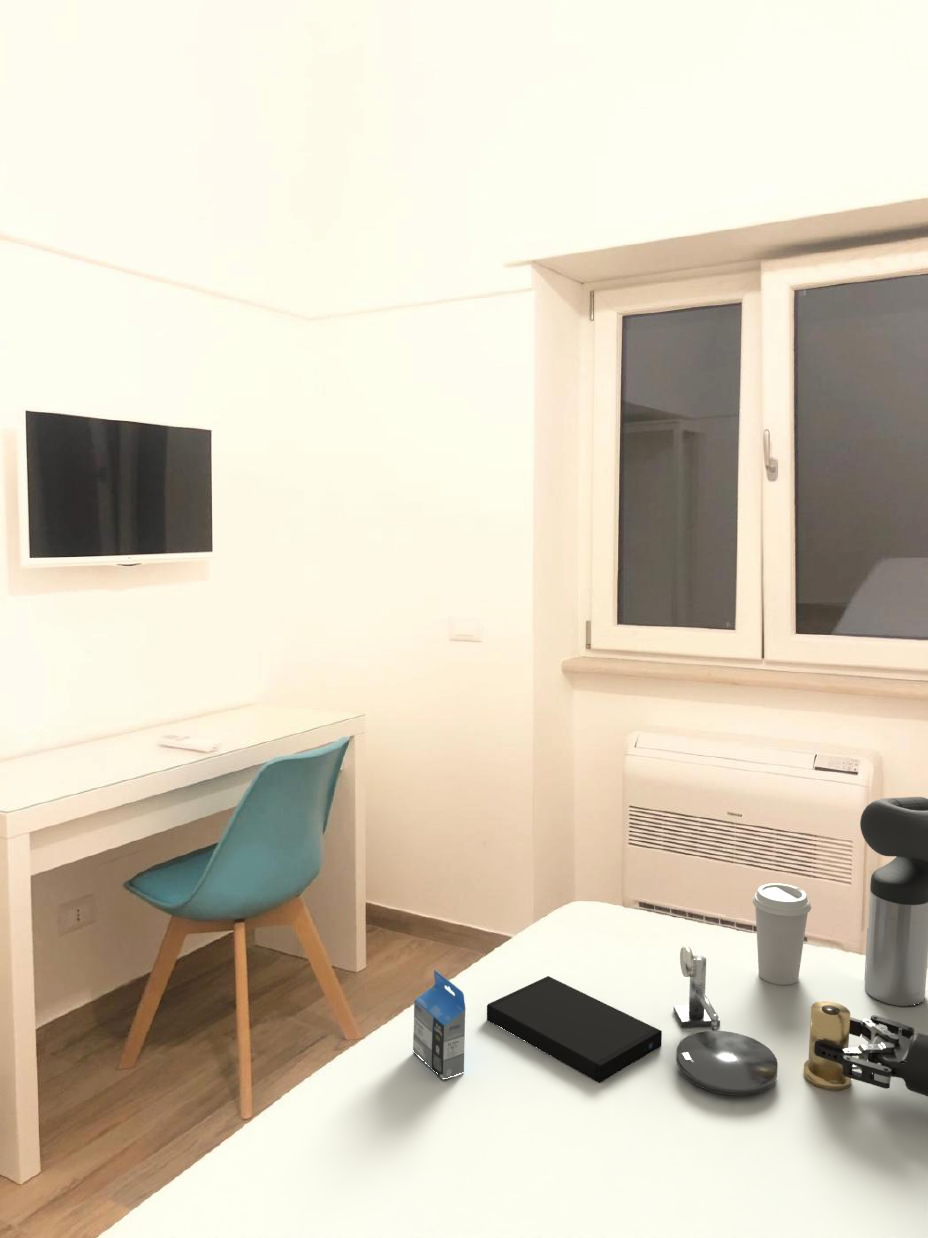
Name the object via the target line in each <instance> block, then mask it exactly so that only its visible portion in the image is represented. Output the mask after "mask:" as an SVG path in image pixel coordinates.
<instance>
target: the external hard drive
mask: <svg viewBox="0 0 928 1238" xmlns="http://www.w3.org/2000/svg"><path fill="white" fill-rule="evenodd" d="M487 1020H488V1021H487ZM486 1021H487V1022H489V1021H490V1023H491V1022H492V1023H491V1024H493V1023H494V1024H493V1025H495V1026H496V1025H498V1026H500V1027H502V1028H503V1029H505V1030H506V1031H505V1030H504V1031H505V1032H507V1031H508V1032H507V1033H509V1032H510V1033H509V1034H511V1033H512V1034H514V1035H515V1037H516V1036H517V1037H516V1038H518V1037H519V1038H520V1040H521V1039H522V1041H523V1040H525V1041H526V1042H525V1041H524V1042H525V1043H527V1042H528V1043H529V1044H528V1043H527V1044H528V1045H530V1044H531V1045H530V1046H532V1047H533V1048H535V1047H537V1048H538V1049H537V1048H536V1049H537V1050H539V1049H540V1050H539V1051H541V1052H543V1053H544V1052H545V1054H546V1055H548V1056H550V1055H551V1056H552V1058H554V1059H555V1060H557V1061H558V1062H560V1063H562V1064H564V1065H566V1066H568V1067H569V1068H571V1069H572V1070H575V1071H576V1070H577V1071H576V1072H578V1073H580V1074H582V1075H583V1076H585V1077H587V1078H589V1079H591V1080H592V1081H594V1082H596V1083H598V1084H601V1083H603V1082H604V1081H606V1080H608V1079H610V1078H612V1077H613V1076H614V1075H616V1074H618V1073H620V1072H622V1071H623V1070H625V1069H626V1068H628V1067H630V1066H631V1065H633V1064H635V1063H637V1062H638V1061H640V1060H641V1059H642V1058H645V1057H646V1056H648V1055H650V1054H651V1053H653V1052H654V1051H657V1050H658V1049H660V1048H661V1047H662V1043H663V1042H662V1039H663V1037H662V1035H663V1031H662V1030H660V1029H658V1028H657V1027H655V1026H653V1025H650V1024H648V1023H646V1022H644V1021H642V1020H640V1019H638V1018H636V1017H634V1016H632V1015H630V1014H628V1013H625V1012H623V1011H621V1010H619V1009H618V1008H615V1007H613V1006H611V1005H608V1003H607V1004H606V1003H605V1002H602V1001H600V1000H599V999H598V998H594V997H592V996H590V995H588V994H587V993H584V992H582V991H580V990H578V989H576V988H575V987H572V986H570V985H568V984H565V983H563V982H561V981H559V980H557V979H555V978H553V977H551V976H548V975H547V976H545V977H543V978H541V979H539V980H537V981H535V982H533V983H531V984H530V983H529V984H528V985H526V986H524V987H521V988H520V989H517V990H515V991H513V992H511V993H509V994H506V995H505V996H502V997H501V998H498V999H496V1000H494V1001H492V1002H489V1003H488V1004H487V1005H486ZM498 1026H497V1027H498ZM500 1027H499V1028H500ZM502 1028H501V1029H502ZM503 1029H502V1030H503ZM512 1034H511V1035H512ZM514 1035H513V1036H514ZM519 1038H518V1039H519ZM551 1056H550V1057H551Z"/></svg>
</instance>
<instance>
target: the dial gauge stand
mask: <svg viewBox="0 0 928 1238" xmlns="http://www.w3.org/2000/svg"><path fill="white" fill-rule="evenodd" d="M679 963H680V969H681V973H682V976H683V977H684V978H689V989H688V991H689V998H688V1004H673V1013H674V1015H675V1018H676V1019H677V1021H678V1023H679V1025H680V1027H681V1028H682V1029H683V1028H707V1027H708V1028H711V1030H710V1031H718V1027H720V1026H721V1019H720V1018H719V1015H718V1014H717V1012H716V1011H715V1009H714V1007H713V1006H712V1004H711V1002H710V1000H709V999H708V996H707V994H706V977H707V958H706V957H705V956H703V955H700V954H698V955H697V954H695V955H694V954H693V951H692V949H691V947H690V946H686V947H685V946H683V947H681V949H680V953H679Z"/></svg>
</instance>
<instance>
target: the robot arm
mask: <svg viewBox="0 0 928 1238" xmlns="http://www.w3.org/2000/svg"><path fill="white" fill-rule="evenodd" d="M859 825H860V832H861V835H862V837H863V839H864V841H865V843H866V844H867V845H868V846H869V847H870V849H871V850H873V851H874V852H875V853H877V854H878V855H881V856H884V857H895V858H893V859H891V861H890V862H888V863H887V864H886V863H885V865H883V866H881V867H879V868H878V869H877V868H876V869H875V870H874V871H873V873H871V874H872V875H871V877H870V885H869V887H870V889H869V902H868V903H869V905H868V907H869V909H868V911H869V912H868V924H867V925H868V926H867V930H866V946H865V947H866V949H865V964H864V965H865V966H864V990H865V992H866V993H867V994H868V995H869V996H870V997H872V998H873V999H875V1000H878V1001H879V1002H881V1003H885V1004H888V1005H892V1006H898V1007H908V1006H907V1005H914V1004H918V1003H920V1002H922V1003H923V1002H924V1001H925V999H926V987H927V986H926V984H927V973H928V972H927V971H928V798H926V797H923V796H907V797H905V796H904V797H890V798H889V797H888V798H887V797H886V798H879V799H877V800H874V801H872V802H870V803H869V804H867V806H865V808H864V809H863V812H862V814H861V816H860V823H859ZM920 1004H921V1003H920ZM918 1005H919V1004H918ZM914 1006H915V1005H914ZM884 1026H885V1027H884ZM849 1035H852V1036H855V1037H857V1038H860V1037H861V1038H863V1039H864V1040H865V1041H867V1044H859V1045H858V1047H848V1048H844V1047H843V1046H840V1045H837V1044H834V1043H830V1042H827V1041H824V1040H821V1039H817V1040H816V1042H815V1048H814V1053H815V1055H816V1056H819V1057H821V1058H825V1059H828V1060H831V1061H834V1062H837V1063H839V1064H841V1065H842V1068H843V1075H844V1076H845V1077H849V1078H851V1080H856V1081H859V1082H863V1083H866V1084H869V1085H872V1086H874V1087H875V1086H876V1087H879V1088H882V1089H889V1088H890V1087H891V1078H899V1079H901V1080H903V1082H905V1084H904V1086H905V1087H906V1089H908V1090H909V1091H910V1092H913V1093H916V1094H920V1095H922V1096H925V1097H928V1035H927V1034H924V1033H921V1032H917V1033H915V1028H914V1027H912V1026H910V1025H907V1024H903V1023H901V1022H897V1021H894V1020H891V1019H888V1018H885V1017H883V1016H879V1015H876V1014H871V1016H870V1019H868V1018H863V1019H862V1020H861V1019H858V1018H854V1017H851V1016H850V1028H849ZM855 1070H860V1071H861V1072H859V1071H855Z"/></svg>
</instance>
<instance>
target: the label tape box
mask: <svg viewBox="0 0 928 1238" xmlns="http://www.w3.org/2000/svg"><path fill="white" fill-rule="evenodd" d="M433 976H434V985H432V986H431V987H429V988H428V989H427V990H426V991H425V992H424V993H422V994H421V995H419V996H418V997H417V998H415V999H414V1001H413V1033H412V1034H413V1037H412V1038H413V1039H412V1041H413V1042H412V1051H413V1050H414V1052H415V1053H416V1054H417V1055H419V1056H420V1057H421V1058H422V1059H423V1060H424V1062H426V1063H427V1064H428V1065H429V1066H430V1067H431V1068H432V1069H433V1070H434V1071H435V1072H437V1073H438V1075H439V1076H440V1077H441V1078H448V1077H450V1076H454V1075H456V1074H459V1073H462V1072H464V1073H465V1043H466V1042H465V1039H466V1038H465V1037H466V1035H465V1034H466V1033H465V1032H466V1030H465V1029H466V1003H465V994H464V992H463V991H462V990H461V989H460V988H459V987H457V985H455V984H454V983H452V982H451V981H450V980H449V979H448V978H447V977H445V976H443V975H442V974H441V973H440V972H438V970H435V969H433ZM445 986H446V987H445ZM446 988H449V989H450V990H451V991H452V992H453V993H451V992H450V991H449V990H448V989H446ZM424 1062H423V1063H424ZM435 1072H434V1073H435ZM438 1075H437V1076H438ZM439 1076H438V1077H439ZM440 1077H439V1078H440ZM441 1078H440V1079H441Z"/></svg>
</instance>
